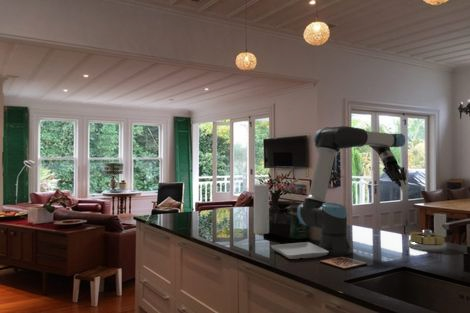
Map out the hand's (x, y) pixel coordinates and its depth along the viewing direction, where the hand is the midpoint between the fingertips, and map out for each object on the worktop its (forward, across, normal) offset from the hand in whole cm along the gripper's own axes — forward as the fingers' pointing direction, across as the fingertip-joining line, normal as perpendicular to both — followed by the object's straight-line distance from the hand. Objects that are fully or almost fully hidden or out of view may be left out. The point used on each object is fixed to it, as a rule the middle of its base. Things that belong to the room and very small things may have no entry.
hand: (404, 190), depth 210 cm
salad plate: (+34, +66, -7) cm, 75 cm away
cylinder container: (-6, +73, -46) cm, 87 cm away
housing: (+31, -2, -8) cm, 32 cm away
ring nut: (+29, -2, -6) cm, 30 cm away
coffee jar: (+7, +55, -33) cm, 64 cm away
